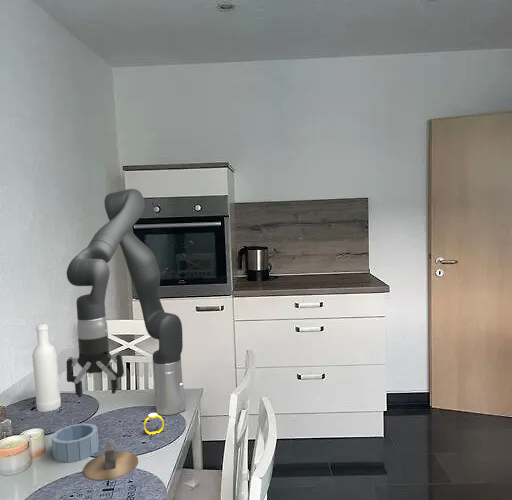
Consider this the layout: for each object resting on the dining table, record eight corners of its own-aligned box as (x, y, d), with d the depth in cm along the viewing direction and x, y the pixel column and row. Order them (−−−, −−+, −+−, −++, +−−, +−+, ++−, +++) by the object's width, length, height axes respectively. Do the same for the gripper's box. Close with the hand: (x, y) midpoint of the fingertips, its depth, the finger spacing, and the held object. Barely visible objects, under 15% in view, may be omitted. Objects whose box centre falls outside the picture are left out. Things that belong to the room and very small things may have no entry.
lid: (138, 450, 140) (136, 431, 139) (138, 476, 126) (137, 454, 126) (86, 459, 136) (84, 439, 136) (81, 486, 123) (79, 463, 122)
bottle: (58, 411, 171) (50, 325, 168) (34, 413, 169) (26, 328, 167) (63, 402, 178) (56, 320, 176) (40, 404, 177) (33, 322, 175)
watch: (145, 437, 147) (142, 418, 147) (144, 434, 150) (141, 415, 149) (165, 432, 149) (162, 414, 148) (164, 429, 152) (161, 410, 151)
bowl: (99, 438, 148) (98, 421, 147) (97, 457, 136) (95, 438, 135) (57, 445, 145) (55, 427, 144) (50, 465, 133) (48, 445, 133)
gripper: (122, 329, 135) (126, 387, 136) (67, 333, 132) (72, 392, 134) (119, 335, 127) (123, 396, 129) (61, 340, 125) (66, 402, 126)
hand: (97, 394), depth 131 cm, fingers open, 8 cm apart
